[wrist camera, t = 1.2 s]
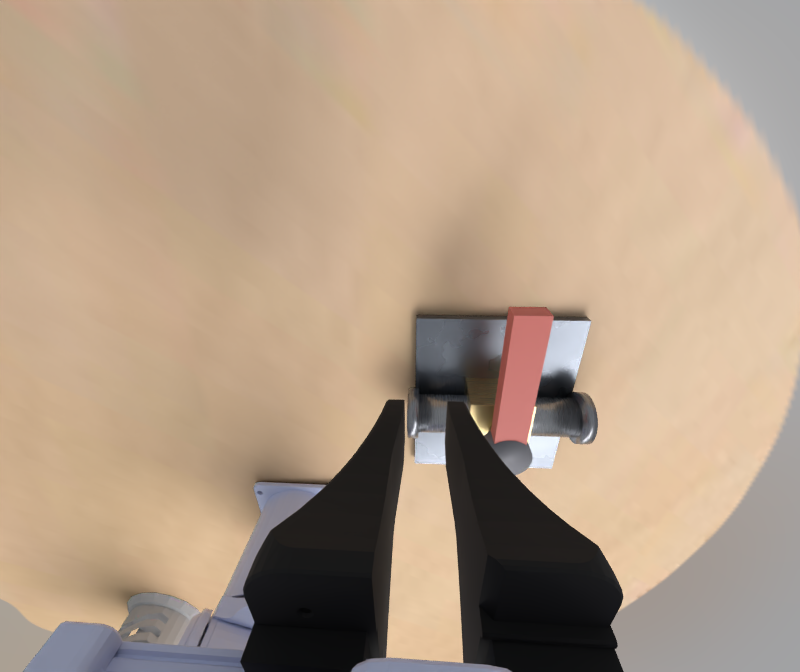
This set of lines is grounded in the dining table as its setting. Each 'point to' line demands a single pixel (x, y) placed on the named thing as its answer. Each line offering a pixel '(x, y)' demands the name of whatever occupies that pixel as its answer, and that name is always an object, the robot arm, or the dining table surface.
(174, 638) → the french press
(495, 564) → the robot arm
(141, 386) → the dining table surface
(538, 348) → the valve lever
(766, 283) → the dining table surface
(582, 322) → the valve assembly
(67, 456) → the dining table surface
